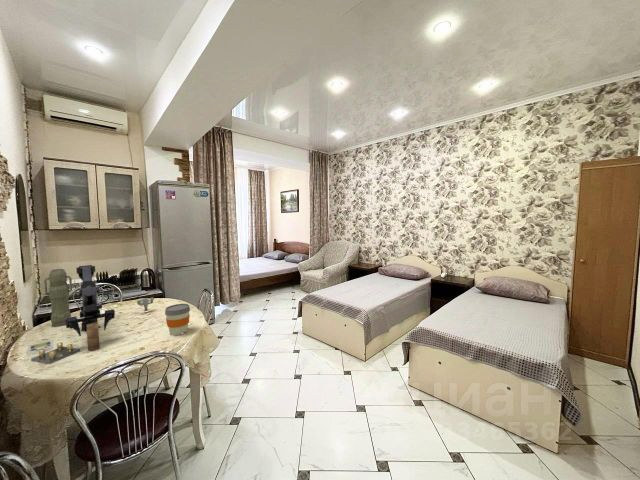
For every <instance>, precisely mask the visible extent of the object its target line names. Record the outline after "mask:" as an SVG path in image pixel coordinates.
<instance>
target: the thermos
mask: <svg viewBox="0 0 640 480" xmlns="http://www.w3.org/2000/svg"><path fill="white" fill-rule="evenodd" d="M72 279H73V277H71V276H70V275H67V271H66V270H65V269H63V268H57V269H52V270H50V272H49V274H48V277H46V278H45V279H44V280H43V281H44V293H45V295H46V296H48V297H49V299H50V300H49V301H50V310H51V314H50V315H51V316H50V322H51V327H53V328H56V327H57V328H58V327H62V326H66V319H67V318H69V317H72V313H71V311H70V302H69V297H70V293H71V292H72V291H73V284H72V283H73V282H72ZM48 280H49V288H48V287H47V286H48V285H47V284H48V283H47V281H48ZM68 280H69V281H68ZM67 281H68V282H69V286H68V282H67Z"/></svg>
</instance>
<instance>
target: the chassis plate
mask: <svg viewBox="0 0 640 480" xmlns="http://www.w3.org/2000/svg"><path fill="white" fill-rule="evenodd" d="M63 343H64V342H58V343H56V349H51V350H49V351H45V349H42V350H39V353H38V355H37V356H34V357H31V358H30V359H31V360H30V361H31V362H35V361H37V362H36V363H41V362H42V364H49V365H51V364H53V363H55V362H58V361H60V360H62V359H64V358H67V357H69V356H72V355H74V354H76V353H79V352H81V348H76V347H73V343H70V344H67V345H66V346H64V344H63Z"/></svg>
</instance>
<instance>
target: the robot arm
mask: <svg viewBox="0 0 640 480" xmlns="http://www.w3.org/2000/svg"><path fill="white" fill-rule="evenodd" d="M95 272H96V265H92V264H87V265H86V264H85V265H79V266H78V267H76V274H77V275H78V278H79V279H80V280H81V281H82V283H81V284H80V289H78V292H79V294H78V295H79V297H81V298H82V300H81V301H82V306H81V307H80V309H81V310H80V311H79V318H77V315H76V316H71V317H69V318H67V319H66V325H65V328H66V329H73V330H74V331H76V333H77V334H78V336H79V337H81V336H82V333H81V331H82V332H87V328H86V325H87V324H89V323H93V322H98V323H99V321H98V319H102V318H104V323H103V329H104V331H106V329H107V327H108V324H109V322H110V321H112V319H113V320H114V319H115V317H116V316H115V315H116V311H115V309H114V308H113V309H106V310H104V313H101V310H102V309H103V304H102V301H100V302H98V294H99V293H100V292H101V291H100V288H99V286H97V284H96V283H95V282H94V281H93V277H94V276H95V275H94V274H95ZM100 309H101V310H100ZM79 323H81V324H80V325H79ZM80 326H81V329H80ZM100 328H101V326H99V325H98V329H100Z"/></svg>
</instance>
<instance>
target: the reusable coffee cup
mask: <svg viewBox="0 0 640 480" xmlns="http://www.w3.org/2000/svg"><path fill="white" fill-rule="evenodd" d="M164 310H165V311H164V313H165V321H166V325H167V328H168V332H169V335H170V336H172V335H178V336H180V335H179V334H182V333H184V332H186V331H187V332H188V329H189V328H188V327H189V323H190V315H191V314H190V311H191V309H190V304H189V303H176V304H172V305H170V306H169V305H168V306H167V307H165V309H164ZM187 332H186V333H187ZM184 334H185V333H184ZM182 335H183V334H182Z"/></svg>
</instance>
